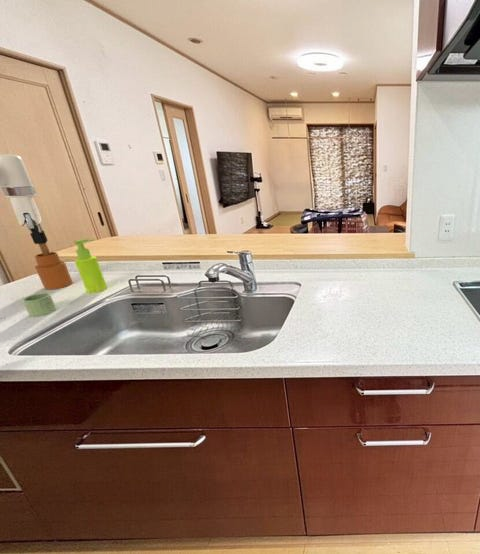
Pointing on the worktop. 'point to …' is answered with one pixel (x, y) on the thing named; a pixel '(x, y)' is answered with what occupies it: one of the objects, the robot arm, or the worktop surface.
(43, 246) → the brush
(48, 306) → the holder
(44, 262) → the orange brown jar
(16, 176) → the robot arm
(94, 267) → the soap dispenser
